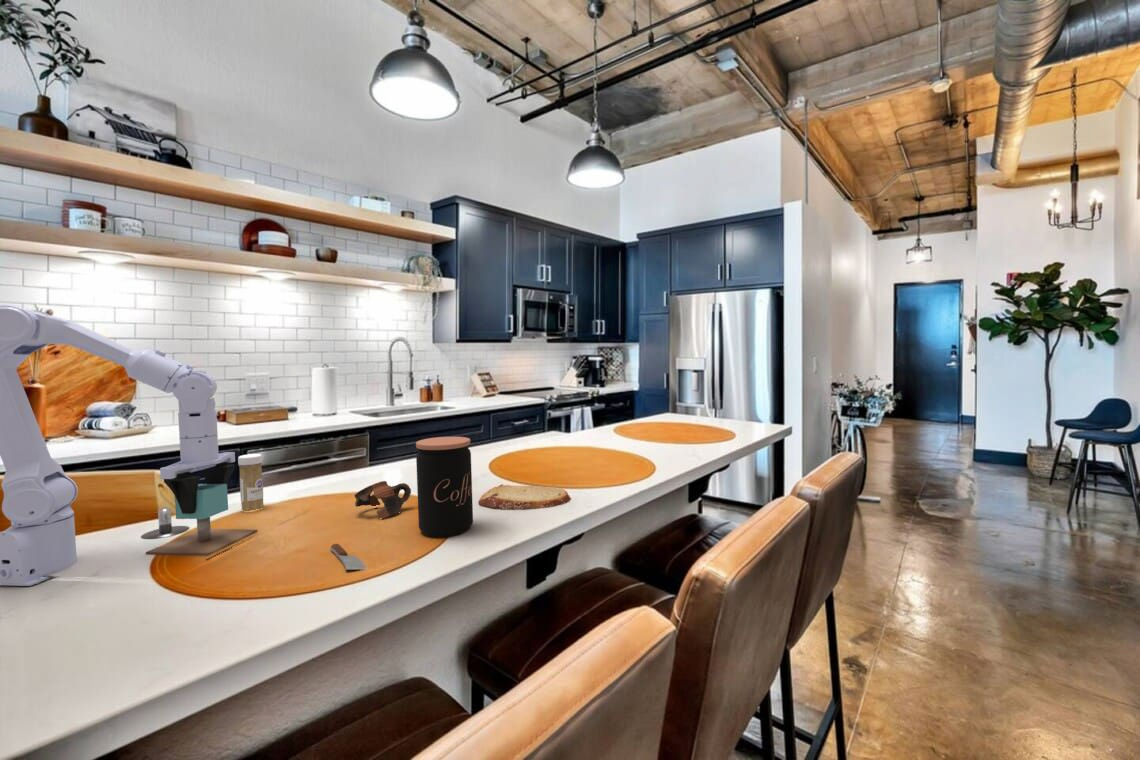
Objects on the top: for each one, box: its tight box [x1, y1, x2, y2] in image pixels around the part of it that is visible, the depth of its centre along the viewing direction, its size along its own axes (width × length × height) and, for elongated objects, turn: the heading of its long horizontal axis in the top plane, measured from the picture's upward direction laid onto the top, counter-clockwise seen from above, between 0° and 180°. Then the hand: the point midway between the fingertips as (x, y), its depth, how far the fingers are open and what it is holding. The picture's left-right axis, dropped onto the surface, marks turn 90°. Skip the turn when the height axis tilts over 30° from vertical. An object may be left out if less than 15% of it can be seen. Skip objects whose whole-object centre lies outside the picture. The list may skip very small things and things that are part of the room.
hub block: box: [145, 517, 258, 561], centre depth 94 cm, size 12×12×6 cm
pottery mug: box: [354, 480, 412, 519], centre depth 113 cm, size 12×10×8 cm
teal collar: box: [174, 483, 229, 520], centre depth 94 cm, size 6×6×5 cm
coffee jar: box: [415, 436, 474, 538], centre depth 100 cm, size 11×11×18 cm
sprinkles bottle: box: [237, 453, 265, 511], centre depth 114 cm, size 5×5×14 cm
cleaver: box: [329, 543, 366, 571], centre depth 87 cm, size 13×2×5 cm
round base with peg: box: [140, 507, 190, 540], centre depth 100 cm, size 8×8×6 cm
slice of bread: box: [478, 483, 572, 511], centre depth 119 cm, size 18×18×4 cm
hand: (202, 508), depth 94 cm, fingers closed on teal collar, 6 cm apart
